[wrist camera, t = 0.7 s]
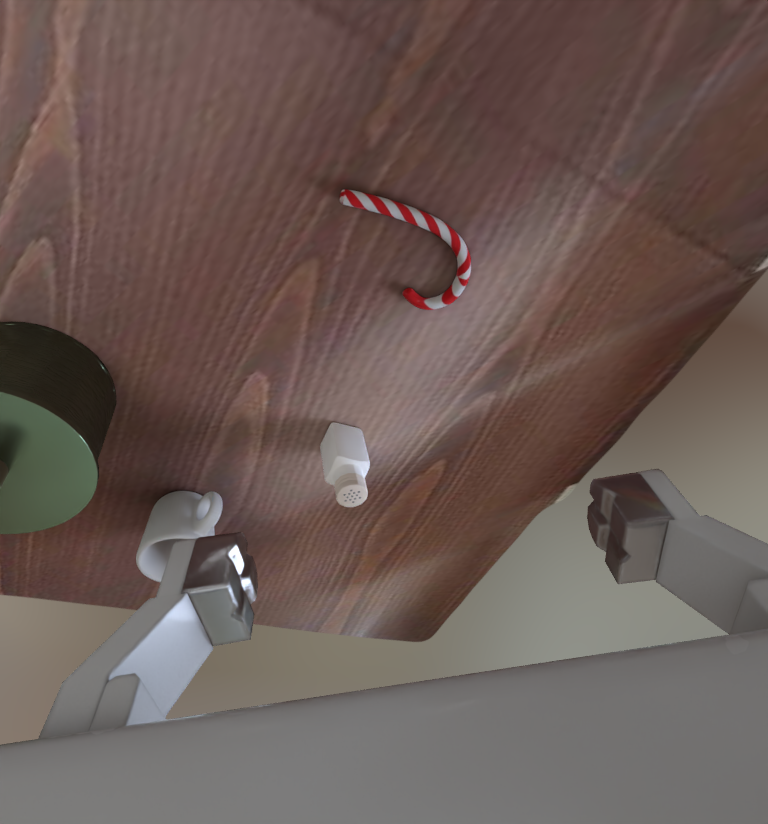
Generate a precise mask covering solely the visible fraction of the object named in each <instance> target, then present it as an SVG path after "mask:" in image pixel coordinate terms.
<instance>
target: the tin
mask: <svg viewBox="0 0 768 824" xmlns="http://www.w3.org/2000/svg"><path fill="white" fill-rule="evenodd" d="M0 387H2V388H6V389H10V390H13V391H16V392H20V393H23V394H25V395H28V396H30V397H33V398H35V399H37V400H39V401H41V402H43V403H45V404H47V405H49V406H51V407H52V408H54V409H56V410H57V411H59V412H60V413H62V414H63V415H64V416H66V417H67V418H68V419H69V420H71V421H72V422H73V423H74V424H75V425H76V426H77V427H78V428H79V429H80V430H81V431H82V432H83V434H84V435H85V436H86V437H87V439H88V440H89V442H90V443H91V445H92V447H93V449H94V451H95V454H96V457H97V460H98V458H99V455H100V452H101V449H102V446H103V443H104V440H105V437H106V434H107V431H108V428H109V425H110V422H111V419H112V416H113V413H114V410H115V406H116V391H115V386H114V383H113V380H112V378H111V376H110V374H109V372H108V370H107V369H106V367H105V366H104V364H103V363H102V362H101V361H100V359H99V358H98V357H97V356H96V355H95V354H94V353H93V352H92V351H91V350H89V349H88V348H87V347H85V346H84V345H83V344H81V343H80V342H78V341H77V340H75V339H73V338H72V337H70V336H68V335H66V334H64V333H61V332H59V331H57V330H54V329H51V328H48V327H45V326H41V325H37V324H31V323H25V322H0Z"/></svg>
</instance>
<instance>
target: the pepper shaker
mask: <svg viewBox="0 0 768 824" xmlns="http://www.w3.org/2000/svg"><path fill="white" fill-rule="evenodd" d="M320 450H321V457H322V464H323V470H324V477H325V481H326V482H327V483H329V484H332V485H334V488H335V494H336V499H337V501H338V502H339V504H340V505H343V506H345V507H355V506H358V505H360V504H362V503H363V502H364V501H365V500H366V499H367V495H368V491H367V486H366V482H365V479H364V478H365V476H366V474H367V472H368V470H369V467H370V461H369V457H368V453H367V448H366V444H365V440H364V436H363V432H362V430H361V429H359V428H356V427H352V426H348V425H344V424H340V423H335V422H334V423H331V424H330V426H329V428H328V430H327V432H326V434H325V436H324V438H323V440H322V443H321V445H320Z"/></svg>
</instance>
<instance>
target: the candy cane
mask: <svg viewBox="0 0 768 824" xmlns="http://www.w3.org/2000/svg"><path fill="white" fill-rule="evenodd" d="M340 202H341V203H342V204H344V205H347V206H351V207H355V208H360V209H364V210H368V211H373V212H376V213H380V214H384V215H387V216H390V217H394V218H397V219H400V220H403V221H405V222H408V223H411V224H414V225H416V226H419V227H421V228H424V229H426V230H428V231H430V232H432V233H434V234H436V235H437V236H439V237H440V238H442V239H443V240H444V241H446V242H447V243H448V244H449V245H450V247H451V248H452V249H453V251H454V253H455V255H456V258H457V263H458V269H457V274H456V277H455V279H454V281H453V283H452V285H451V286H450V287H449V288H448V289H447V290H446V291H445V292H444V293H443V294H441V295H439V296H436V297H432V298H424V297H422V296H420V295H418V294H417V293H416V292H415V291H414V290H413V289H412V288H407V289H405V290H404V291H403V296H404V297H405V299H406V300H407V301H409V302H410V303H411V304H412V305H414V306H416V307H418V308H421V309H427V310H433V309H438V308H442V307H444V306H447V305H449V304H451V303H452V302H454V301H455V300H456V299H457V298H458V297H459V296H460V295H461V293H462V292H463V290H464V289H465V287H466V285H467V283H468V280H469V277H470V273H471V258H470V253H469V251H468V248H467V246H466V244H465V242H464V241H463V239H462V238H461V237H460V236H459V234H458V233H457V232H456V231H455V230H454V229H452V228H451V227H450V226H449V225H447V224H446V223H445V222H443V221H441V220H440V219H438V218H436V217H434V216H432V215H430V214H428V213H425V212H423V211H421V210H418V209H415V208H413V207H410V206H407V205H405V204H402V203H399V202H396V201H393V200H389V199H386V198H382V197H379V196H375V195H371V194H367V193H363V192H358V191H354V190H347V189H344V190H342V191H341V193H340Z"/></svg>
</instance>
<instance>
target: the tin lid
mask: <svg viewBox="0 0 768 824" xmlns="http://www.w3.org/2000/svg"><path fill="white" fill-rule="evenodd" d="M98 479H99V465H98V460H97V457H96V454H95V451H94V449H93V447H92V445H91V443H90V442H89V440H88V439H87V437H86V436H85V435H84V434H83V432H82V431H81V430H80V429H79V428H78V427H77V426H76V425H75V424H74V423H73V422H72V421H71V420H69V419H68V418H67V417H66V416H64V415H63V414H62V413H60V412H59V411H57V410H56V409H54V408H52V407H51V406H49V405H47V404H45V403H43V402H41V401H39V400H37V399H35V398H33V397H30V396H28V395H25V394H23V393H20V392H16V391H13V390H10V389H6V388H2V387H0V534H20V533H29V532H35V531H40V530H44V529H48V528H51V527H54V526H57V525H59V524H61V523H64V522H65V521H67V520H69V519H71V518H73V517H74V516H75V515H77V514H78V513H79V512H81V511H82V510H83V509H84V507H85V506H86V505H87V504H88V503H89V501H90V500H91V498H92V497H93V495H94V492H95V490H96V487H97V483H98Z"/></svg>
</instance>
